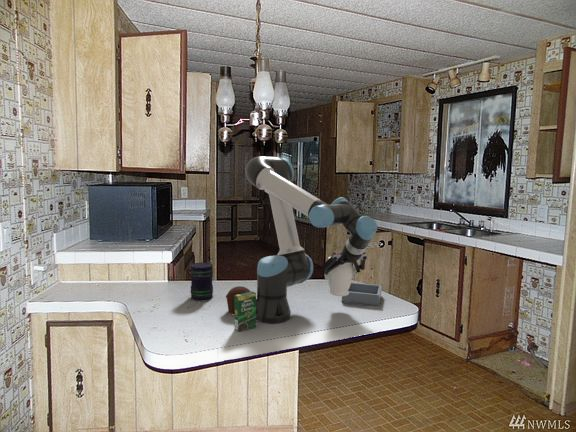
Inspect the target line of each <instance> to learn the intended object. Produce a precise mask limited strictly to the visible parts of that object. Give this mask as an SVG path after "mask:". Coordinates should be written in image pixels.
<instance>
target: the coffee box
mask: <svg viewBox="0 0 576 432" xmlns="http://www.w3.org/2000/svg"><path fill="white" fill-rule="evenodd" d="M256 299H257V292H255V291H253V290H252V291H251V292H248V293H243V294H238V295H234V315H233V317H234V319H233V320H234V326H233V328H234V330H235V331H236V332H242V331H243V332H244V331H245V330H246V331H248V330H250V329H254V328H257V320H256Z"/></svg>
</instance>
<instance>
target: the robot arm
mask: <svg viewBox="0 0 576 432" xmlns="http://www.w3.org/2000/svg"><path fill="white" fill-rule="evenodd" d="M244 173H245V174H244V175H245V177H246V179H247V181H248V182H249V183H250V184H251V185H253V186H254V187H255V188H256V189H258V190H261V191H264V192H265V193H267V194H268V197H269V201H270V202H269V203H270V206H271V211H272V217H273V222H274V227H275V231H276V232H275V233H276V236H277V241H278V247H279V250H278V253H277V254H276V255H269V256H267V255H266V256H264V257H262V258H261V259H259V260H258V262H257V268H256V276H257V277H256V282H257V283H256V322H260V323H265V324H279V323H284V322H287V321H289V320H290V319H291V317H292V316H291V314H292V312H291V308H290V304H289V301H288V297H287V295H288V290H287V289H288V287H291V286H294V285H295V286H296V285H297V284H302V283H304V282H306V281H308V280H309V279H310V278H311V276H312V275H313V273H314V263H313V260H312V258H311V257H310V256H309V255H308V254H306V251H305V248H304V247H302V246H301V245H300V244H301V243H300V239H299V235H298V229H297V225H296V220H295V214H294V211H293V210H294V209H295V210H296V211H298V212H300V213H301V214H303V215H304V216H306V217H307V218H308V220H309V221H310V223H311V225H312V226H313V227H315V228H329V227H334V226H341V225H342V226H343V228H344V229H345V230H346V231H347V232H348V233H349V236H348V238H347V240H346V242H345V244H344V246H343V247H342V250H341V252H340V253H339V254H337V253H336V252H333V253H332V255H330V256H329V257H330V258H329V259H326V261H325V262H324V263H323V264H322V269H323V270H322V271H324V274H323V275H324V280H325V281H328V278H329V276H330V274H331V270H333V269H334V268H336V267H338V266H339V265H343V264H344V263H352V268H353V274H352V279H353V278H354V277H355V275H356V274H358V273H360V272H361V270H362V271H363V270H365V269H366V268H365V267H366V261H367V259H368V257H367V254H366V249H367V248H368V246H369V245H370V243H371V241H372V240H373V239H374V237H375V235H376V232H377V230H378V223H377V221H376V220H375V219H374V218H371V217H370V216H368V215H363V216H362V215H361V213H360V212H359V211H358V210H357V209H356V208H355V206H353V205H352V203H351V202H350V201H349V200H348V199H347V198H345V197H343V196H341V197H338V198H336V199H335V200H334V201H332V202H331V203H330V204H328V203H326V202H325V201H323V200H321V199H320V198H318V197H316V196H315V195H313V194H311V193H310V192H308V191H307V190H305V189H303V188H302V187H300V186H298V185H296V184H294V183H293V182H292V181H293V179H294V176H295V169H294V166H293V165H292V163H291V161H289V159H287V158H284V157H281V156H280V157H279V156H263V155H262V156H261V155H260V156H259V155H258V156H255V157H252V158H251V159H250V160H249V161H248V162H247V164H246V166H245V171H244ZM358 260H359V261H360V262H358ZM359 263H360V264H359Z"/></svg>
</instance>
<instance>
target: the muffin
mask: <svg viewBox="0 0 576 432" xmlns="http://www.w3.org/2000/svg"><path fill="white" fill-rule="evenodd" d="M248 292H252V291H251V290H250V289H249V288H247V287H245V286H235V287H232V288H230V290H228V292H227V294H226V295H225V298H226V303H227V308H228V310H227V311H228V313H229V314H231V315H233V316H234V295H238V294H243V293H248Z"/></svg>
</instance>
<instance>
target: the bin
mask: <svg viewBox="0 0 576 432" xmlns="http://www.w3.org/2000/svg"><path fill="white" fill-rule="evenodd" d="M348 291H349V294H348V295H346V296H341V303H343V304H344V303H346V304H353V305H354V304H355V305H361V306H371V307H379V306H380V302H381V298H382V285H380V284H370V283H360V282H359V283H358V282H351V285H350V287H349V289H348Z"/></svg>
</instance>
